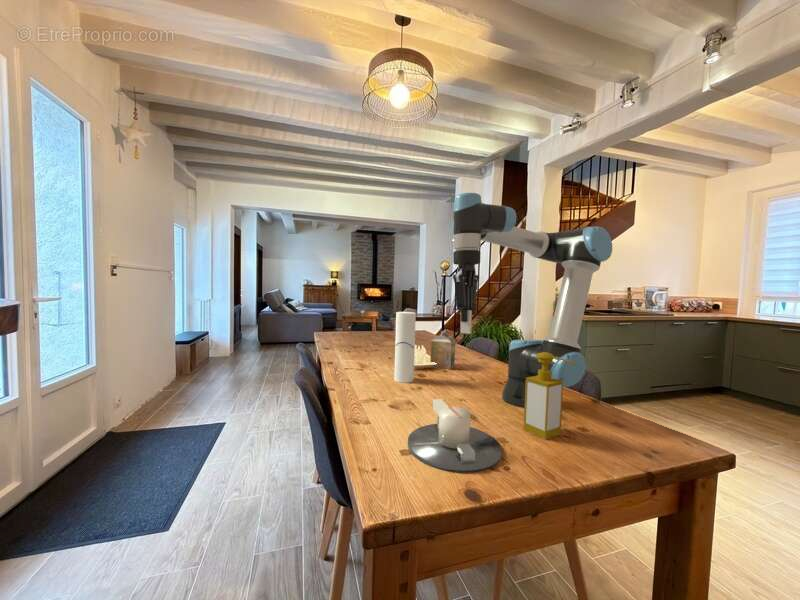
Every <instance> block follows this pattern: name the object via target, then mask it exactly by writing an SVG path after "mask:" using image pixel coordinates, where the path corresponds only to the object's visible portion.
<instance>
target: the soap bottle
mask: <svg viewBox="0 0 800 600" xmlns="http://www.w3.org/2000/svg"><path fill="white" fill-rule="evenodd" d="M536 357H538V362H541V363H542V369H539V370H538V376H532V377H527V378H526V379H527V380H526V386H525V407H523V409H524V413H523V429H522V430H523V431H525V432H527V433H530V434H532V435H534V436H536V437H539V438H540V439H543V440H545V441H546V440H549V439H552V438H554V437H557V436H559V435H561V434H562V433H561V432H562V431H561V430H562V417H563V415H562V414H563V413H562V410H563V396H564V395H563V393H564V386H563V383H562V382H563V381H561V380H558V379H554V378H551V371H550V370H548V363H552V361H553V359H559V360H563V361H566V362H569V363H571V364H573V365H576V364H575V363H573V362H571V361H568V360H565V359H562V358H558V357H555V356H554V355H552V354H550V353H548V352H542V353H538V354H537V355H536Z"/></svg>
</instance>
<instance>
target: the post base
mask: <svg viewBox="0 0 800 600" xmlns="http://www.w3.org/2000/svg"><path fill="white" fill-rule="evenodd" d="M438 424H439V416H437V419H436V423H431V424H428V425H423V426H421V427H417V428H416V429H414V430H413V431H411V433H410V434H409V435H408V438H407V447H408V450H409V452H410V453H411V455H412V456H413V457H414V458H415V459H416V460H418V461H420V462H421V463H422V464H423V463H424V464H425V465H426V466H427V465H428V466H430V467H433V468H436V469H439V470H442V471H449V472H453V473H476V472H482V471H486V470H488V469H491V468H493V467H494V466H496V465H497V464H498V463H500V461H501V459H502V455H503V453H502V452H503V450H502V447H501V444H500V442H499V441H498V440H497V439H496V438H495V437H493V436H492V435H490V434H489V433H487V432H485V431H483V430H481V429H478V428H476V427H472V426H470V441H469V443H468V444H457V448H458V449H454V448H449V447H446V446H443V445H442V444H440V442H439V440H438V438H439V428H438ZM458 450H459V451H460V453H461V455H460V453H459V452H458Z"/></svg>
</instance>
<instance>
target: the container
mask: <svg viewBox="0 0 800 600" xmlns="http://www.w3.org/2000/svg"><path fill="white" fill-rule="evenodd" d="M395 313H396V314H395V341H394V342H395V343H394V349H395V350H394V371H393V372H394V375H393V377H394V378H393V380H394V382H397V383H401V384H405V383H406V384H408V383H412V382H414V379H415V378H414V372H415V346H416V342H415V341H416V321H417V320H416V316H417V314H416V312H413V311H396V312H395Z"/></svg>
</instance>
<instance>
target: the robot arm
mask: <svg viewBox="0 0 800 600" xmlns="http://www.w3.org/2000/svg"><path fill="white" fill-rule="evenodd" d="M452 213H453V222H452V225H451V229H452V230H451V231H452V233H453V239H452V243H453V249H454V250H455V251H453V256H452V257H453V258H452V259H453V261H452V263H453V264H454V265H457V268H456V269H457V270H456V271H457V272H456V274H453V275H452V279H453V282H454V293H455V301H456V309H457V311H460V334H467V335H470V334H472V313H473V312H472V311H475V310H476V301H477V292H478V291H477V290H478V283H479V279H480V276H479V275H478V274H477V273H476V266H475V265H480V264H481V251H480V249H481V247H482V246H481V243H482V242H485V243H490V244H493V245H497V246H501V247H505V248H508V249H512V250H517V251H520V252H525V253H528V254H529V256H530V257H533V258H536V259H539V260H544V261H547V262H551V263H557V264H561V267H563V268H564V272H563V275H562V276H563V277H562V280H561V281H562V282H561V285H560V289H559V294H558V298H557V301H556V306H555V309H554V310H555V311H554V316H553V319H552V322H551V327H550V332H549V335H548V336H547V337H545V338H544V339H543V340H542V339H513V340H511V341H510V343H509V348H508V359H507V360H508V366H507V367H508V368H507V369H508V370H507V378H506V379H507V380H506V383H505V385H504V387H503V390H502V394H501V395H502V396H501V398H502V400H503V401H504V402H506V403H507V404H509V405H512V406H517V407H519V408H520V407H521V408H524V407H525V386H526V380H527V379H526V378H527V377H532V376H538V370H539V369H542V363H541V362H538V357H536V355H537V354H538V353H542V352H548V353H550V354H552V355H554V356H555V357H558V358H562V359H565V360H568V361H571V362H573V363H575V364H576V365H573V364H571V363H569V362H566V361H563V360H559V359H553V361H552V363H548V370H550V371H551V378H554V379H558V380H561V381H563V382H562V383H563V387H566V388H567V387H572V386H575V385H576V384H577V383H579V382H580V381H581V379H582V378H583V376H584V374H585V371H586V368H587V363H586V358H585V356H584V355H583V354H582V353H581V351H582V347H581V346H580V344H579V343H578V341H579V336H580V331H581V327H582V323H583V318H584V314H585V310H586V305H587V301H588V296H589V292H590V288H591V284H592V283H591V282H592V280H593V275H594V273H595V272H597V271H599V270H600V267H601V263H602V262H605V261H607V260H609V258H611V256H612V253H613V242H612V238H611V236H610V234H609V232H608V231H607V230H606V229H605V228H604V227H601V226H586V227H582V228H576V229H570V230H569V229H568V230H564V231H556V232H545V231H540V230H539V231H537V232H534V231H531V230H528V229H524V228H522V227H518V226H516V224H517V213H516V210H515V209H514V208H512V207H510V206H506V205H498V204H489V203H484V202H483V201H482V196H481V194H478V193H476V192H464V193H460V194H457V195H456V196H455V198H454V199H453V211H452Z"/></svg>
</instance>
